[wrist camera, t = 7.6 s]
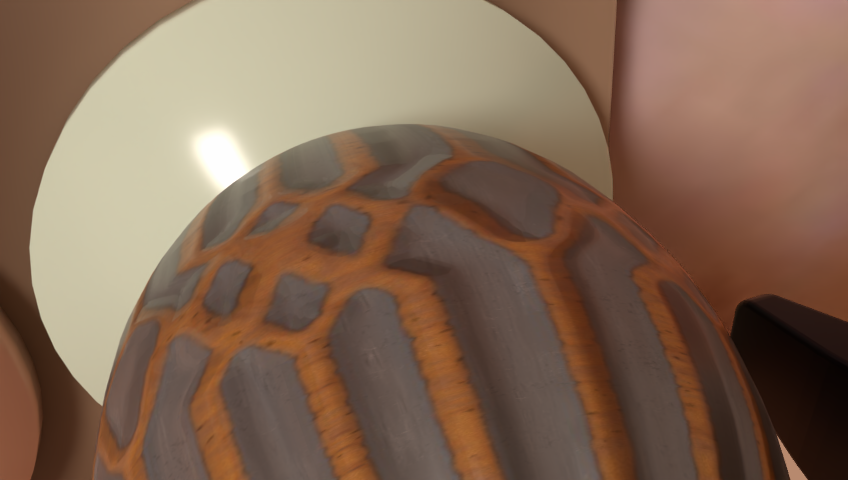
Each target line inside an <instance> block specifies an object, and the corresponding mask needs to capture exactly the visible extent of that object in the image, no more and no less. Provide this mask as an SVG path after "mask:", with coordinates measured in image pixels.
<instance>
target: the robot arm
mask: <svg viewBox="0 0 848 480" xmlns="http://www.w3.org/2000/svg"><path fill="white" fill-rule="evenodd" d="M730 337H731V339H732V341H733V342H734V344H735V346H736V348H737V350H738V352H739V354H740V356H741V358H742V360H743V362H744V364H745V366H746V368H747V370H748V372H749V374H750V376H751V378H752V380H753V382H754V384H755V386H756V388H757V390H758V392H759V394H760V396H761V398H762V400H763V403H764V405H765V408H766V410H767V413H768V415H769V417H770V420H771V422H772V425H773V427H774V430H775V432H776V434H777V436H778V437H779V439H780V440H781V442H782V443H783V445H784V447H785V448H786V450H787V451H788V453H789V454H790V456H791V457H792V458H793V460H794V461H795V463H796V464H797V466H798V467H799V468H800V470H801V471H802V472H803V474H804V475H805V476H806V478H807V479H808V480H848V322H846V321H843V320H841V319H838V318H835V317H833V316H830V315H827V314H825V313H822V312H819V311H817V310H814V309H811V308H809V307H806V306H803V305H801V304H798V303H795V302H793V301H790V300H787V299H785V298H782V297H779V296H776V295H773V294H764V295H760V296H757V297H753V298H750V299H747V300H744V301H742V302H740V303H739V305H738V306H737V308H736V311H735V316H734V321H733V326H732V331H731V336H730Z"/></svg>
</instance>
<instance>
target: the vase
mask: <svg viewBox="0 0 848 480" xmlns="http://www.w3.org/2000/svg"><path fill="white" fill-rule="evenodd" d="M92 480H790V477H789V474H788V470H787V467H786V464H785V461H784V457H783V454H782V451H781V448H780V445H779V441H778V438H777V435H776V432H775V430H774V427H773V425H772V422H771V420H770V417H769V415H768V413H767V410H766V408H765V405H764V403H763V400H762V398H761V396H760V394H759V392H758V390H757V388H756V386H755V384H754V382H753V380H752V378H751V376H750V374H749V372H748V370H747V368H746V366H745V364H744V362H743V360H742V358H741V356H740V354H739V352H738V350H737V348H736V346H735V344H734V342H733V341H732V339H731V337H730V336H729V334H728V332H727V330H726V329H725V327H724V325H723V324H722V322H721V320H720V318H719V317H718V315H717V313H716V312H715V311H714V309H713V308H712V306H711V305H710V304H709V302H708V301H707V299H706V298H705V297H704V295H703V294H702V293H701V291H700V290H699V288H698V287H697V286H696V284H695V283H694V282H693V280H692V279H691V277H690V276H689V275H688V273H687V272H686V271H685V270H684V269H683V268H682V267H681V265H680V264H679V263H678V262H677V261H676V260H675V259H674V258H673V257H672V256H671V255H670V254H669V253H668V252H667V251H666V250H665V248H664V247H663V246H662V245H661V244H660V243H659V242H658V241H657V240H656V239H655V238H654V237H653V236H652V235H651V234H650V233H649V232H648V231H647V230H646V229H644V228H643V227H642V226H641V225H640V224H639V223H637V222H636V221H635V220H634V219H633V218H632V217H631V216H629V215H628V214H627V213H626V212H625V211H624V210H622V209H621V208H620V207H619V206H618V205H617V204H615V203H614V202H613V201H612V200H611V199H609V198H608V197H607V196H605V195H604V194H602V193H601V192H600V191H598V190H597V189H596V188H594V187H593V186H591V185H590V184H589V183H587V182H586V181H584V180H583V179H581V178H580V177H579V176H577V175H576V174H574V173H573V172H571V171H570V170H568V169H566V168H564V167H562V166H561V165H559V164H557V163H555V162H553V161H551V160H549V159H547V158H544V157H542V156H540V155H538V154H535V153H533V152H531V151H529V150H526V149H524V148H522V147H519V146H517V145H515V144H512V143H510V142H506V141H503V140H500V139H497V138H494V137H490V136H486V135H482V134H478V133H474V132H470V131H465V130H461V129H457V128H451V127H444V126H437V125H423V124H393V125H381V126H370V127H362V128H356V129H350V130H345V131H341V132H337V133H333V134H329V135H326V136H322V137H319V138H316V139H313V140H310V141H307V142H305V143H302V144H300V145H297V146H295V147H292V148H290V149H288V150H286V151H284V152H282V153H280V154H278V155H276V156H274V157H272V158H271V159H269V160H267V161H265V162H264V163H262V164H260V165H259V166H257V167H255V168H254V169H252V170H251V171H249V172H248V173H246V174H245V175H243V176H242V177H241V178H239V179H238V180H236V181H235V182H233V183H232V184H231V185H229V186H228V187H227V188H226V189H224V190H223V191H222V192H221V193H219V194H218V195H217V196H216V197H215V198H214V199H213V200H212V201H211V202H209V203H208V204H207V205H206V206H205V207H204V208H203V209H202V210H201V211H200V212H199V213H198V214H197V215H196V217H195V218H194V219H193V220H192V221H191V222H190V223H189V224H188V225H187V227H186V228H185V229H184V230H183V232H182V233H181V234H180V235H179V237H178V238H177V239H176V241H175V242H174V243H173V244H172V246H171V247H170V248H169V250H168V251H167V252H166V254H165V255H164V256H163V257H162V259H161V261H160V262H159V264H158V265H157V267H156V268H155V270H154V272H153V273H152V275H151V276H150V278H149V280H148V282H147V284H146V286H145V288H144V290H143V291H142V293H141V295H140V297H139V299H138V301H137V303H136V305H135V307H134V309H133V311H132V313H131V315H130V317H129V319H128V321H127V323H126V326H125V328H124V331H123V333H122V336H121V338H120V342H119V345H118V349H117V352H116V355H115V359H114V362H113V366H112V369H111V373H110V376H109V380H108V384H107V387H106V391H105V395H104V401H103V406H102V411H101V416H100V422H99V427H98V433H97V439H96V445H95V453H94V464H93V475H92Z"/></svg>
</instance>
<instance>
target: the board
mask: <svg viewBox="0 0 848 480" xmlns="http://www.w3.org/2000/svg"><path fill="white" fill-rule="evenodd" d="M191 1H193V0H0V306H1V308H2V309H3V311H4V312H5V313H6V315H7V316H8V318H9V319H10V321H11V322H12V323H13V325H14V326H15V328H16V329H17V331H18V332H19V334H20V335H21V337H22V339H23V342H24V344H25V346H26V348H27V350H28V352H29V354H30V356H31V358H32V360H33V362H34V366H35V369H36V373H37V376H38V380H39V384H40V387H41V393H42V406H43V423H42V431H41V439H40V445H39V449H38V453H37V458H36V462H35V466H34V471H33V474H32V476H31V479H30V480H92V475H93V464H94V453H95V445H96V439H97V433H98V427H99V422H100V416H101V411H102V406H101V405H100V404H99V403H98V402H96V401H95V400H94V399H93V397H92V396H91V395H90V394H89V393H88V392H87V391H86V390H85V389H84V388H83V387H82V385H81V384H80V383H79V382H78V381H77V380H76V379H75V378H74V377H73V375H72V374H71V372H70V371H69V369H68V368H67V366H66V365H65V363H64V362H63V360H62V359H61V357H60V356H59V354H58V353H57V351H56V350H55V348H54V346H53V344H52V341H51V339H50V337H49V335H48V333H47V330H46V328H45V326H44V324H43V322H42V319H41V316H40V312H39V309H38V305H37V301H36V297H35V293H34V289H33V285H32V275H31V262H30V249H29V247H30V237H31V227H32V217H33V209H34V205H35V202H36V198H37V195H38V191H39V187H40V184H41V180H42V177H43V173H44V170H45V167H46V165H47V162H48V160H49V157H50V155H51V152H52V150H53V148H54V146H55V144H56V141H57V139H58V137H59V135H60V133H61V131H62V129H63V127H64V124H65V122H66V120H67V118H68V116H69V114H70V113H71V111H72V110H73V108H74V107H75V105H76V104H77V103H78V101H79V100H80V98H81V97H82V95H83V94H84V92H85V91H86V89H87V88H88V87H89V85H90V84H91V82H92V81H93V79H94V78H95V77H96V76H97V75H98V74H99V73H100V72H101V71H102V70H103V69H104V68H105V67H106V66H107V65H108V64H109V62H110V61H111V60H112V59H113V58H114V57H115V56H116V55H117V54H118V53H119V52H120V51H121V50H122V49H123V48H124V47H125V46H126V45H128V44H129V43H130V42H131V41H133V40H134V39H135V38H136V37H138V36H139V35H140V34H142V33H143V32H144V31H145V30H147V29H148V28H149V27H151V26H152V25H153V24H154V23H156V22H157V21H158V20H160V19H161V18H163V17H165V16H166V15H168V14H170V13H172V12H173V11H175V10H177V9H179V8H180V7H182V6H184V5H186V4H187V3H189V2H191ZM487 1H489V2H491V3H493V4H495V5H496V6H498V7H499V8H501V9H502V10H504V11H505V12H507V13H508V14H510V15H511V16H512V17H514V18H515V19H516V20H518V21H519V22H521V23H522V24H523V25H525V26H526V27H527V28H529V29H530V30H531V31H533V32H534V33H536V34H537V35H538V36H540V37H541V38H542V39H543V40H544V41H545V42H546V43H547V44H548V45H549V46H550V47H551V48H552V49H553V50H554V51H555V52H556V53H557V54H558V55H559V56H560V57H561V58H562V59H563V60H564V61H565V63H566V64H567V66H568V67H569V68H570V70H571V71H572V73H573V74H574V75H575V77H576V78H577V80H578V81H579V82H580V84H581V85H582V87H583V88H584V89H585V91H586V93H587V95H588V97H589V99H590V101H591V103H592V105H593V107H594V109H595V111H596V114H597V116H598V118H599V120H600V123H601V127H602V130H603V133H604V136H605V140H606V143H607V146H608V147H609V130H610V112H611V95H612V78H613V60H614V43H615V26H616V8H617V0H487Z"/></svg>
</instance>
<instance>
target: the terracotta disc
mask: <svg viewBox="0 0 848 480" xmlns="http://www.w3.org/2000/svg"><path fill="white" fill-rule="evenodd" d="M42 423H43V406H42V393H41V387H40V384H39V380H38V376H37V373H36V369H35V366H34V362H33V360H32V358H31V356H30V354H29V352H28V350H27V348H26V346H25V344H24V342H23V339H22V337H21V335H20V334H19V332H18V331H17V329H16V328H15V326H14V325H13V323H12V322H11V321H10V319H9V318H8V316H7V315H6V313H5V312H4V311H3V309H2V308H1V306H0V480H30V479H31V476H32V474H33V471H34V466H35V462H36V458H37V453H38V449H39V445H40V439H41V431H42Z"/></svg>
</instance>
